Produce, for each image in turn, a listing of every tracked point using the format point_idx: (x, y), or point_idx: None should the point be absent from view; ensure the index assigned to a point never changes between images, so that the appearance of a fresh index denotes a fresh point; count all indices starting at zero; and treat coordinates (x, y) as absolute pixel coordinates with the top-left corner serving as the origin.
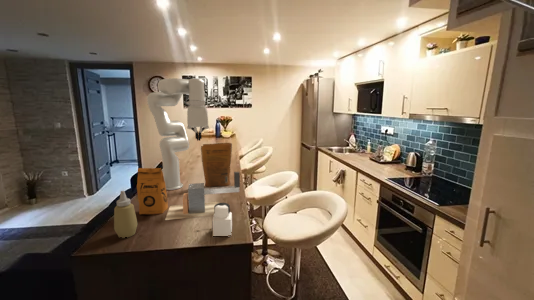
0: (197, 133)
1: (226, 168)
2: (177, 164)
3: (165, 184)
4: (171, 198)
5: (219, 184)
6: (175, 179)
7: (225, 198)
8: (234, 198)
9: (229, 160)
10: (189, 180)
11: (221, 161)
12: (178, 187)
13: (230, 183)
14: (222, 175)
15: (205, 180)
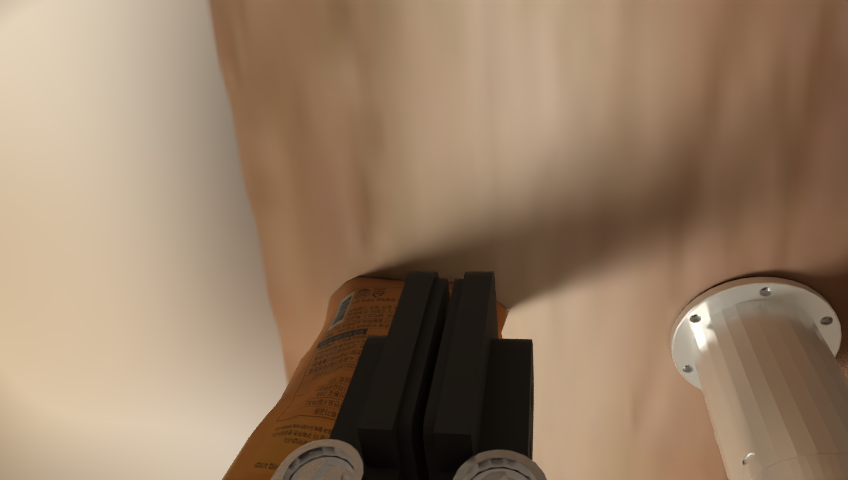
0: (445, 414)
1: (312, 373)
2: (752, 464)
3: (818, 330)
4: (768, 96)
5: (398, 285)
6: (743, 347)
7: (333, 26)
8: (265, 15)
9: (259, 425)
10: (622, 430)
11: (330, 421)
12: (706, 296)
13: (328, 303)
14: (358, 326)
15: (499, 335)
